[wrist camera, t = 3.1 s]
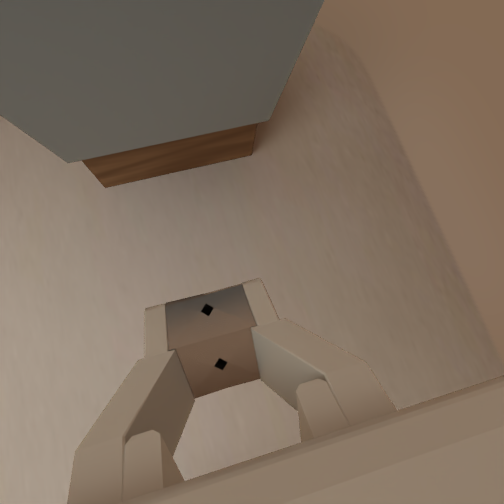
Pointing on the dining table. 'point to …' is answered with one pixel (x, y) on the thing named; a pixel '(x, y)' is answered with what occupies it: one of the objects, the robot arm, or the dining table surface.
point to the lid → (144, 68)
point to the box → (173, 156)
